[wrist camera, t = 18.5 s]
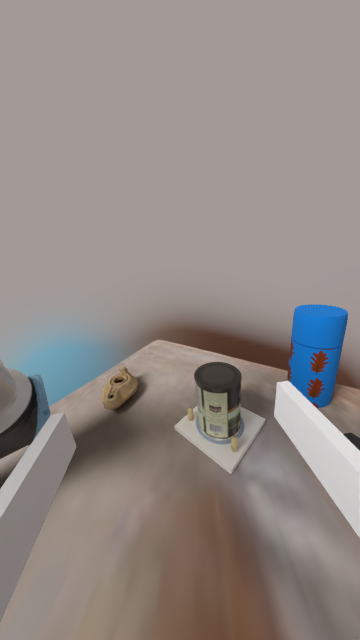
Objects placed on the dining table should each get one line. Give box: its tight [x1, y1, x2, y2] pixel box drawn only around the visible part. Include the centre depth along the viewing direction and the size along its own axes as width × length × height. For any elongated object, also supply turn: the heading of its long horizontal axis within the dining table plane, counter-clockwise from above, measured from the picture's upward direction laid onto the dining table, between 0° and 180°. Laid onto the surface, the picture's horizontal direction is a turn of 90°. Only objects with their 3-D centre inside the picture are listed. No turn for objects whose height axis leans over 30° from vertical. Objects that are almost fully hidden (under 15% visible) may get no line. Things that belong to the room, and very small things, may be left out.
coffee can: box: [194, 362, 241, 441], centre depth 46 cm, size 10×10×14 cm
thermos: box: [288, 305, 348, 408], centre depth 52 cm, size 11×11×25 cm
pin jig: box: [174, 405, 266, 474], centre depth 48 cm, size 16×16×4 cm
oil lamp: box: [102, 367, 138, 410], centre depth 60 cm, size 11×15×8 cm
